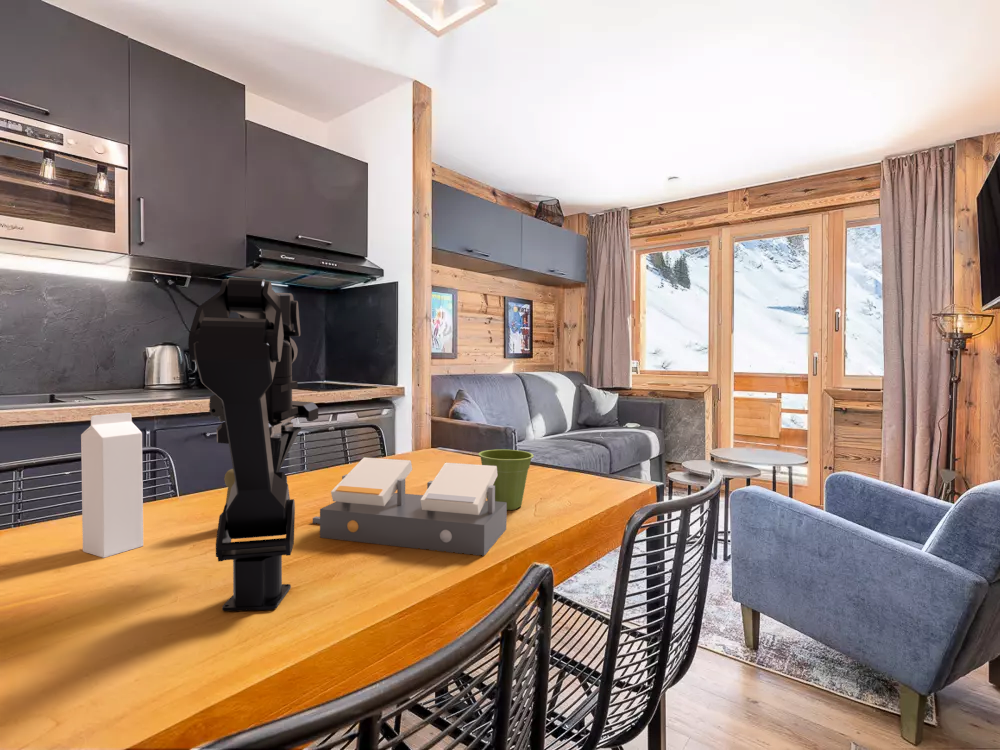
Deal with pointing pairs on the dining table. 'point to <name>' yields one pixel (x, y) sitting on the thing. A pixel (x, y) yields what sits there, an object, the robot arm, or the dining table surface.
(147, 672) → the dining table surface
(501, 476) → the plant pot
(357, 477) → the orange striped rocker plate
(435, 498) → the white rocker
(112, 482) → the milk
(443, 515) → the rocker switch box
